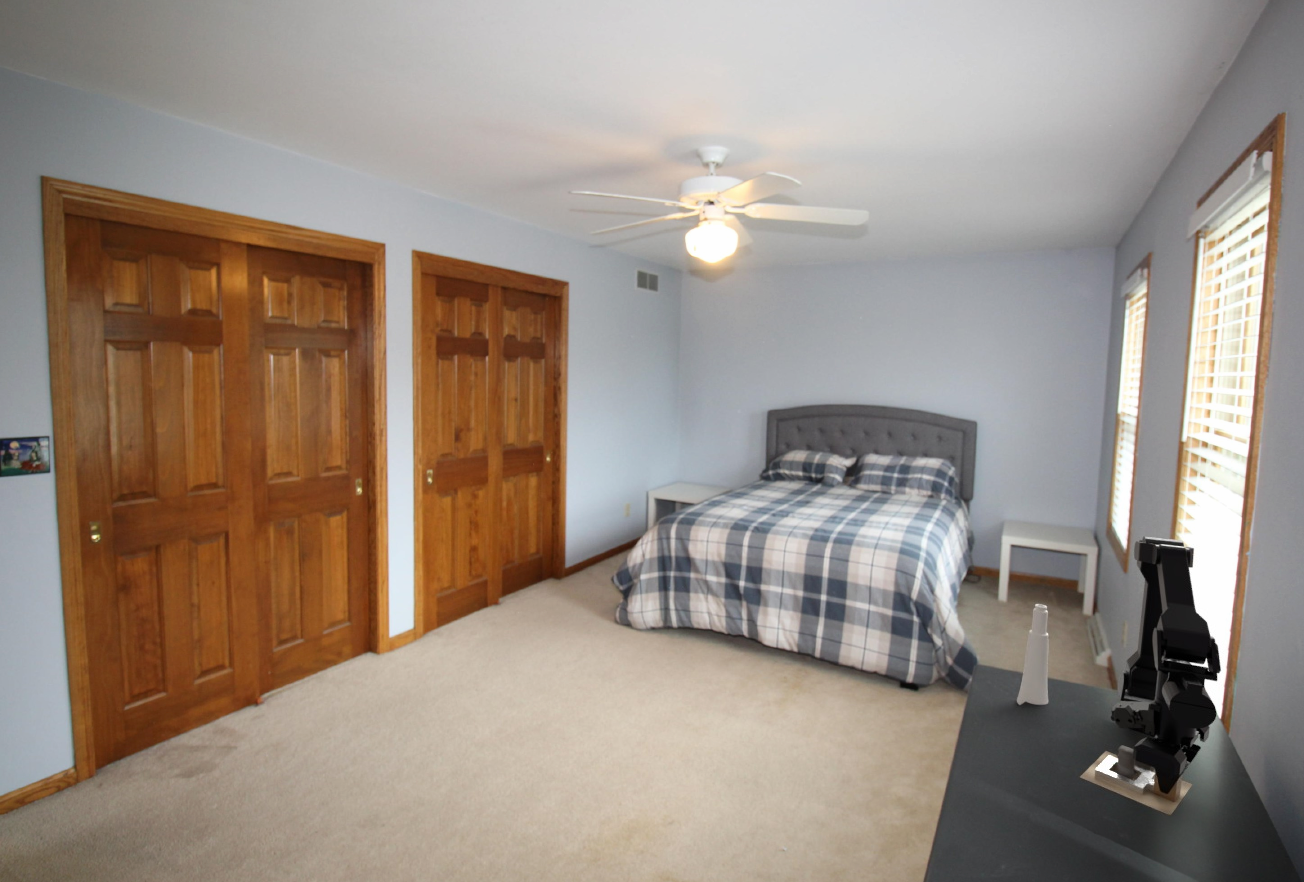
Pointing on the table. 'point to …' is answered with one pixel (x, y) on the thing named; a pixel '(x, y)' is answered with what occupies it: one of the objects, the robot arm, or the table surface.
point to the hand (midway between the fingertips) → (1167, 788)
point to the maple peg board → (1127, 770)
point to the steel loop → (1142, 783)
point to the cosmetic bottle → (1036, 661)
